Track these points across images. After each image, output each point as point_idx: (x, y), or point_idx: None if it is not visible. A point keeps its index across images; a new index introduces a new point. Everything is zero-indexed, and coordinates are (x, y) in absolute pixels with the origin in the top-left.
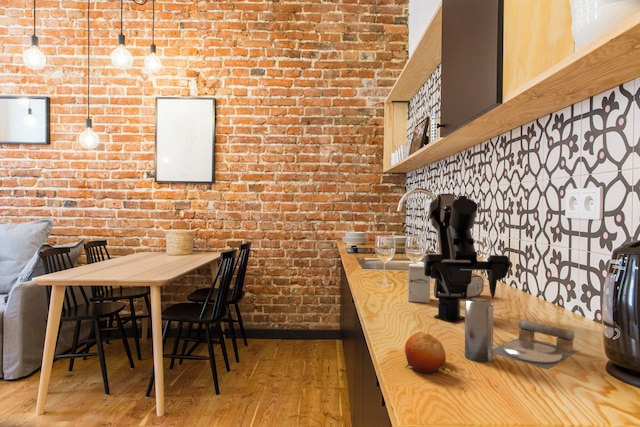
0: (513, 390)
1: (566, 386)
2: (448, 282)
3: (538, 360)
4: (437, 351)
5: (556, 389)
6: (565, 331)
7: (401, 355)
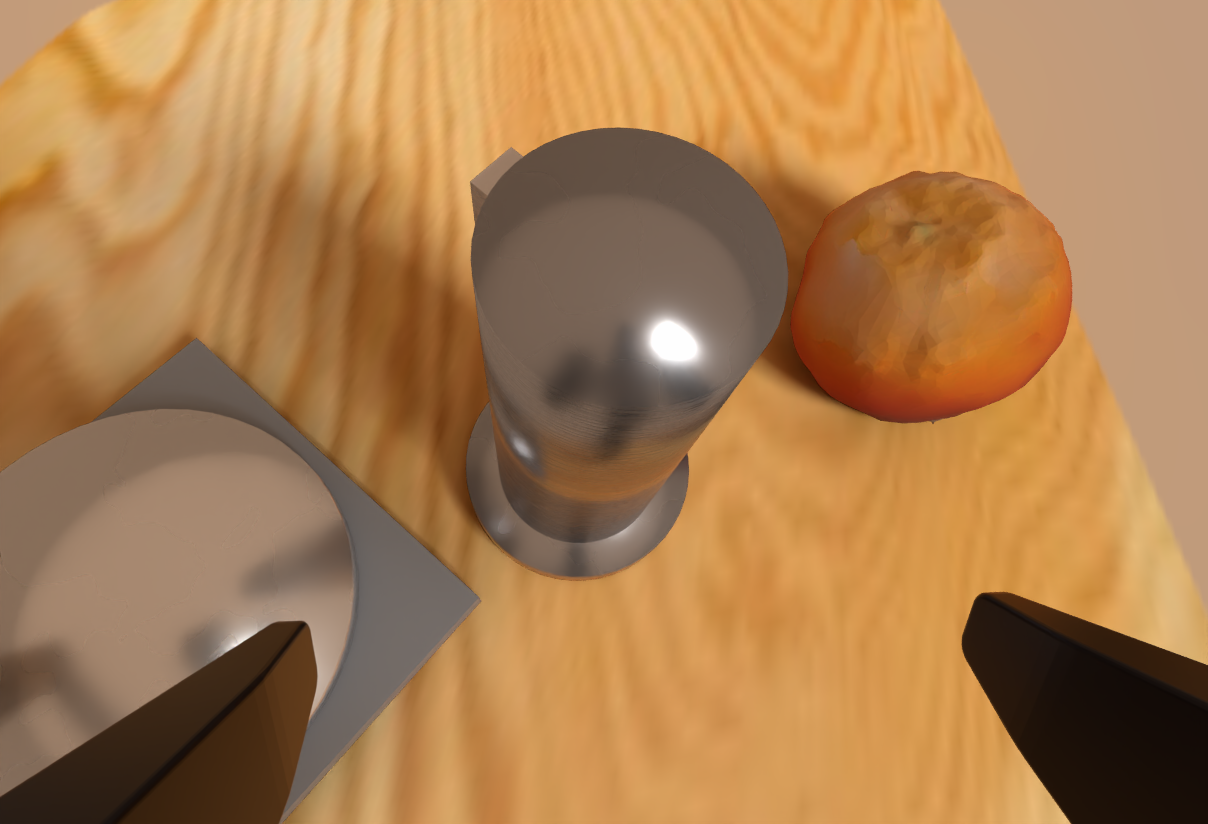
0: (481, 171)
1: (188, 236)
2: (1173, 682)
3: (197, 411)
4: (868, 198)
5: (263, 201)
6: None
7: (1028, 524)
